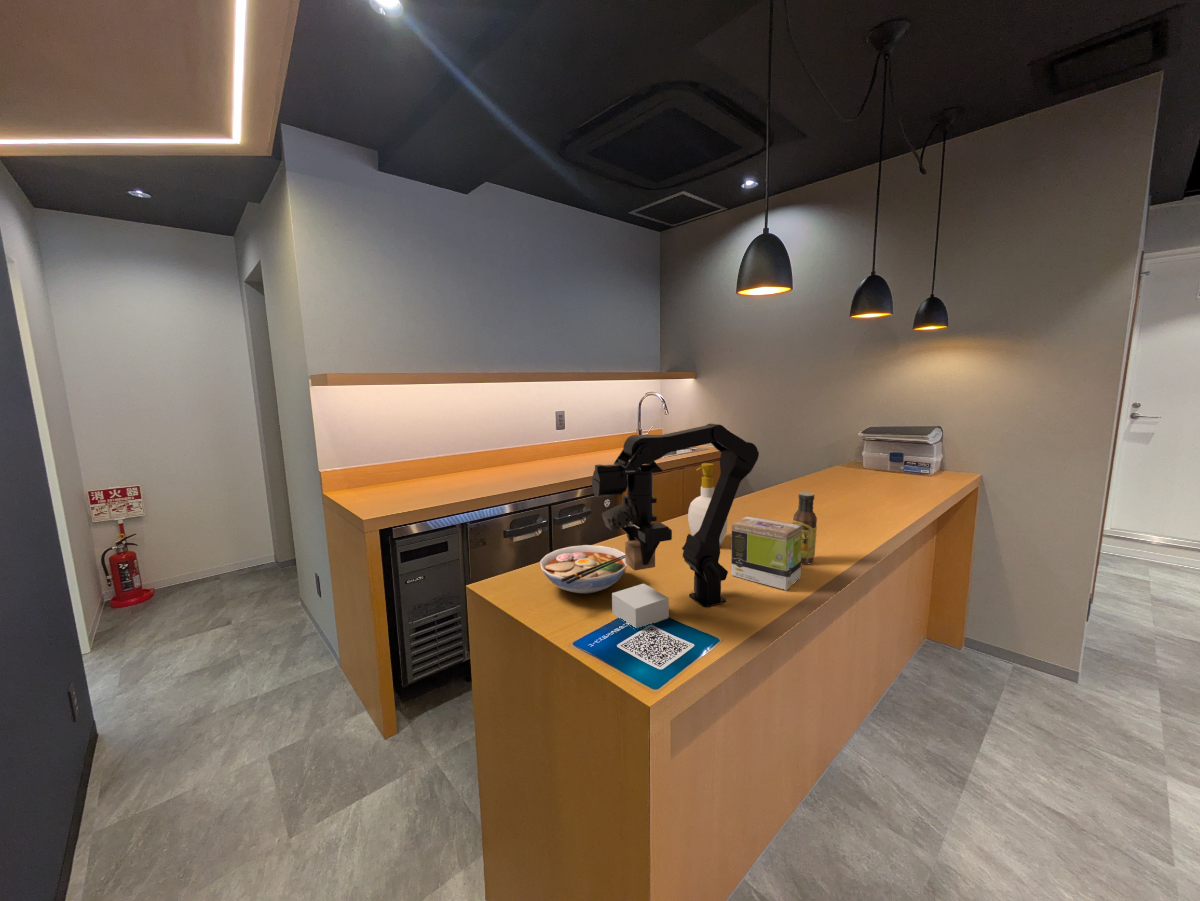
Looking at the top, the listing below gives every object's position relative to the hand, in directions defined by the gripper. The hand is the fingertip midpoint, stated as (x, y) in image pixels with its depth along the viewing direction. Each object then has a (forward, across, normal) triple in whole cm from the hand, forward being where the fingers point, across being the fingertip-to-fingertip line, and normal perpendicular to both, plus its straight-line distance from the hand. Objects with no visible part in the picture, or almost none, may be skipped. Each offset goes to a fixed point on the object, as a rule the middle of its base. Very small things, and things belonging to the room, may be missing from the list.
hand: (640, 560), depth 105 cm
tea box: (+12, -4, +38) cm, 40 cm away
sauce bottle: (+12, -8, +55) cm, 57 cm away
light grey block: (+12, +2, -1) cm, 13 cm away
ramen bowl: (+12, -17, -8) cm, 22 cm away
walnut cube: (+1, 0, 0) cm, 1 cm away
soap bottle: (+12, -32, +38) cm, 51 cm away
